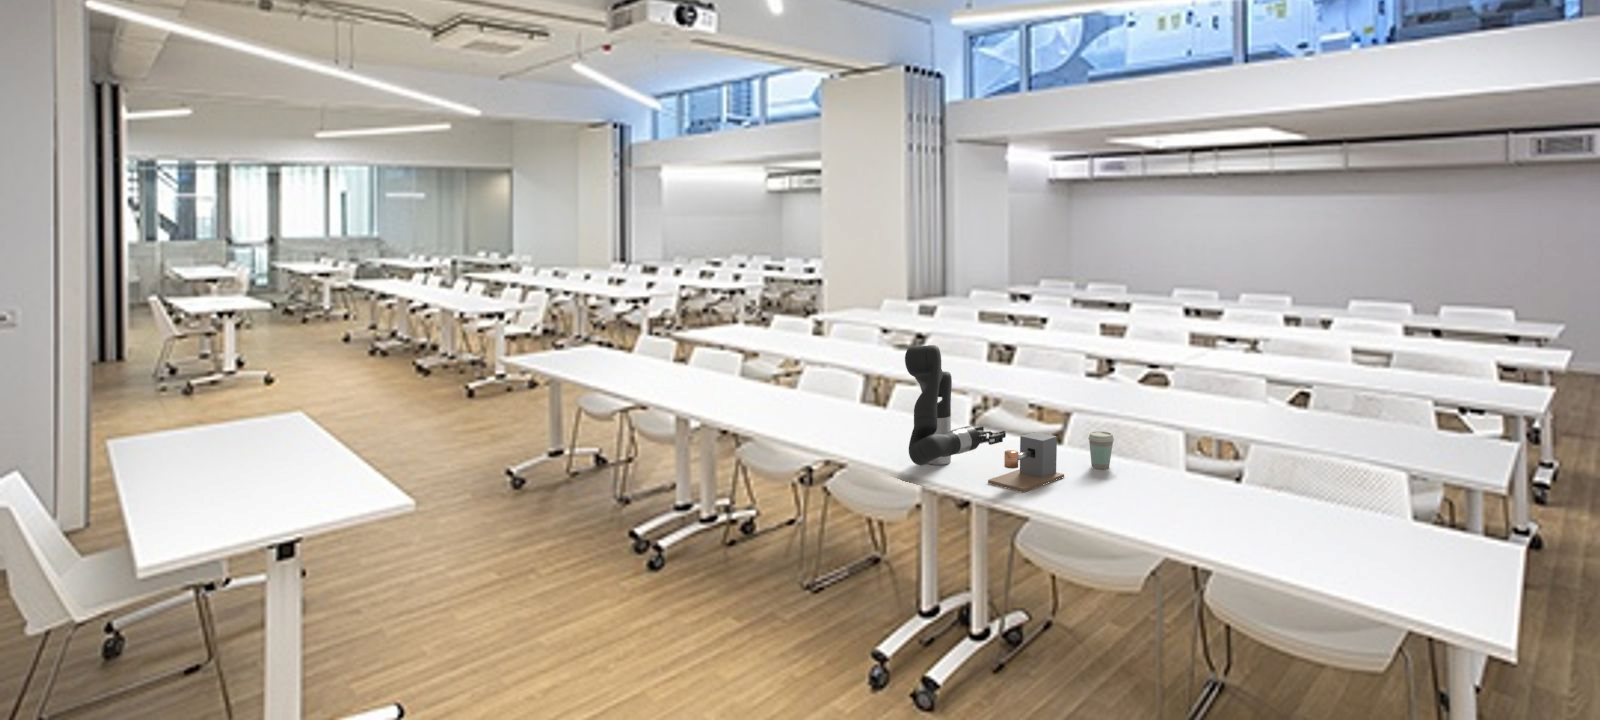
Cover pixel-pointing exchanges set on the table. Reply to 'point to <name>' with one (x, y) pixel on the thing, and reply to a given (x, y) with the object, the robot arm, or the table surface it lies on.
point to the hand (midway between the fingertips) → (993, 431)
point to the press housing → (1032, 464)
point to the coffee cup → (1100, 449)
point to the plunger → (1015, 458)
